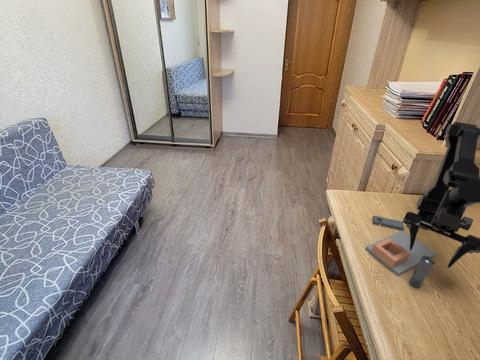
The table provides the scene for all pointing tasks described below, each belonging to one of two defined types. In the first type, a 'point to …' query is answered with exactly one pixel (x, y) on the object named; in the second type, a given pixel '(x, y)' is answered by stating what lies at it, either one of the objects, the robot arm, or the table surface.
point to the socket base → (399, 252)
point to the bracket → (388, 223)
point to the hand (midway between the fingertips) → (428, 258)
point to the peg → (421, 271)
